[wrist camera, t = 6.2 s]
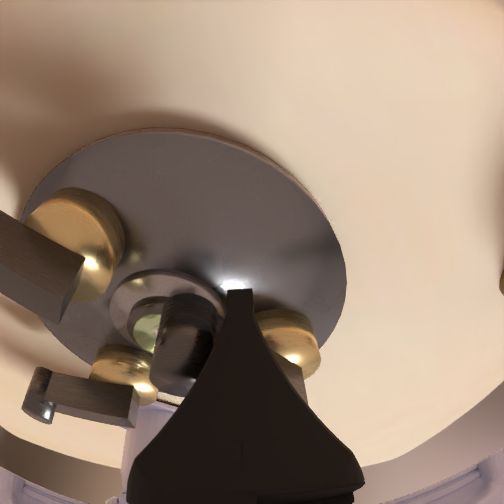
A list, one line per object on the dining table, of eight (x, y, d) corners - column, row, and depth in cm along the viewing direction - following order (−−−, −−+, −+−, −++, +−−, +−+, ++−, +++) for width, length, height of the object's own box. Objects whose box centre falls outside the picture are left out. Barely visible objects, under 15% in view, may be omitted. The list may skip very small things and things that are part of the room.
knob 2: (153, 347, 16) (139, 428, 12) (165, 384, 19) (158, 452, 14) (33, 331, 15) (6, 394, 11) (58, 368, 18) (39, 425, 14)
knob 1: (139, 216, 11) (93, 314, 7) (109, 286, 13) (75, 376, 9) (-17, 134, 8) (-98, 186, 4) (-25, 210, 10) (-83, 273, 6)
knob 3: (328, 334, 16) (349, 417, 12) (267, 367, 18) (275, 444, 13) (210, 236, 12) (199, 342, 8) (147, 291, 14) (122, 387, 9)
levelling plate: (231, 403, 23) (231, 434, 20) (22, 320, 17) (6, 351, 14) (405, 255, 14) (430, 292, 12) (74, 58, 8) (32, 63, 6)
